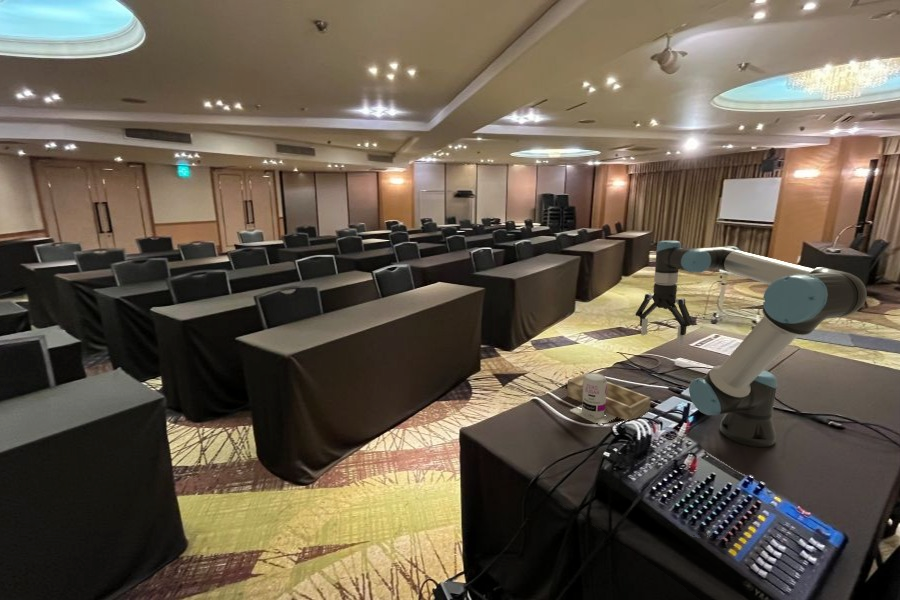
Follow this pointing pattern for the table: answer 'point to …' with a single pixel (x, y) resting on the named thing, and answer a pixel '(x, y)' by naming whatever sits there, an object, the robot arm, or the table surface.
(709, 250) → the robot arm
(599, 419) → the mat
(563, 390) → the table surface
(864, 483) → the table surface
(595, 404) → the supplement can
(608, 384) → the crate
